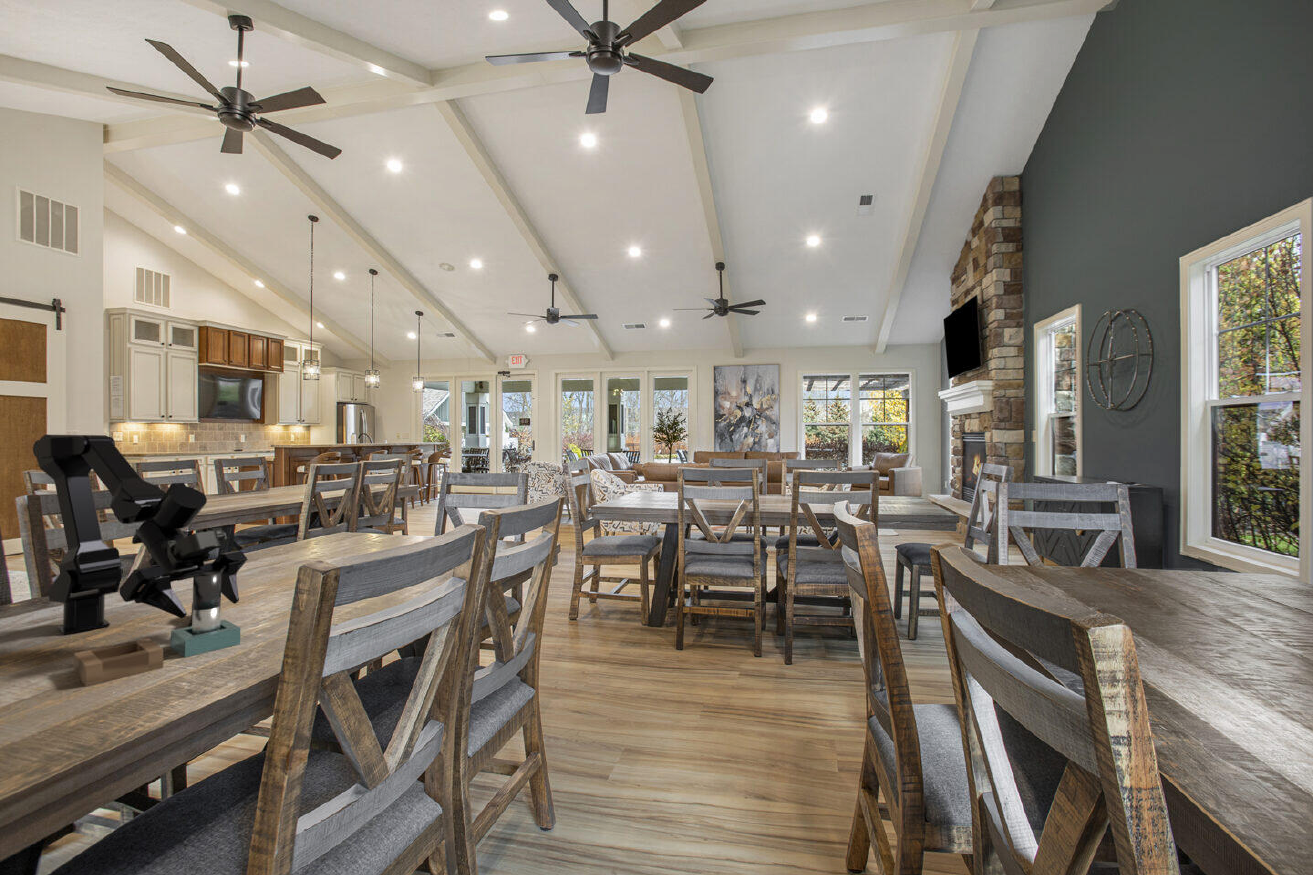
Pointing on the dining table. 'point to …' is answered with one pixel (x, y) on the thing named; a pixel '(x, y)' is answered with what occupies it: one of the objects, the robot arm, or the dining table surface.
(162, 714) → the dining table surface
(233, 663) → the dining table surface
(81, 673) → the frame
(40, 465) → the robot arm
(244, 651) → the dining table surface
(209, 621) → the grey and white cylinder
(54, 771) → the dining table surface
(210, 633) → the socket block
